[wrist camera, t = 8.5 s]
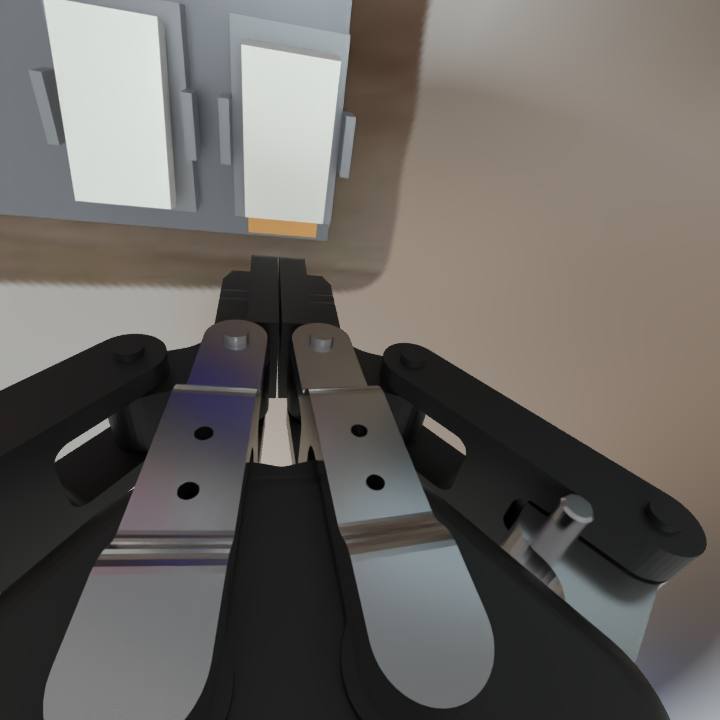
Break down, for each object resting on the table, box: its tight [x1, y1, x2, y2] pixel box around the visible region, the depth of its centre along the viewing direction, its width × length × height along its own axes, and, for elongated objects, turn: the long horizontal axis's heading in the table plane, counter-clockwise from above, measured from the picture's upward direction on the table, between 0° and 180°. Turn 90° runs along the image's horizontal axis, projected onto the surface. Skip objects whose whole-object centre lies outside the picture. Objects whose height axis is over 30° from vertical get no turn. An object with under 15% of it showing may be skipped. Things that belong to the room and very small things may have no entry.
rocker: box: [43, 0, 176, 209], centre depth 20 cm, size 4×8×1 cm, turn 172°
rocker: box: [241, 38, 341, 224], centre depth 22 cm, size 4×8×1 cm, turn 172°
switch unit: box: [0, 0, 356, 241], centre depth 22 cm, size 21×13×4 cm, turn 82°
